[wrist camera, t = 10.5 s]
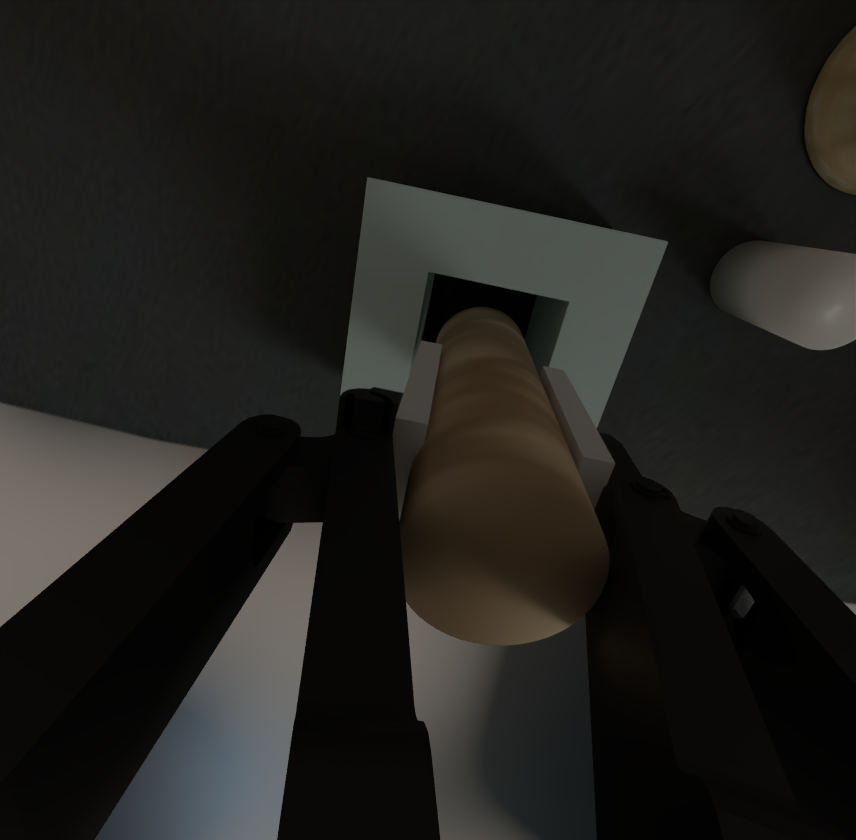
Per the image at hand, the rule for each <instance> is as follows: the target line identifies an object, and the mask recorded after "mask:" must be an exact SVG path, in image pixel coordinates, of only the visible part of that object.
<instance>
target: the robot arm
mask: <svg viewBox="0 0 856 840" xmlns="http://www.w3.org/2000/svg"><path fill="white" fill-rule="evenodd" d="M441 349H442V345H441V344H437V343H432V342H427V341H422V340H421V342H420V345H419V348H418V351H417V354H416V357H415V360H414V363H413V366H412V369H411V372H410V375H409V378H408V381H407V384H406V387H405V390H404V393H401V392H396V391H391V390H387V389H382V388H377V387H373V388H371V389H365V388H356V389H349V390H347V391H344V392H343V393H342V394H341V396H340V401H339V409H338V417H337V425H336V433H335V435H331V436H326V437H301V429H300V426H299V425H298V424H297V423H296V422H294V421H293V420H291V419H288V418H285V417H281V416H276V415H270V414H268V415H266V414H265V415H259V416H255V417H250V418H248V419H246V420H244V421H242V422H241V423H240V424H239V425H237V426H236V427H235V428H234V429H233V430H232V431H230V432H229V433H228V434H227V435H226V436H224V437H223V438H222V439H221V440H220V441H219V442H217V443H216V444H215V445H214V446H213V447H212V448H210V449H209V450H208V451H207V452H206V453H205V454H203V455H202V456H201V457H200V458H199V459H198V460H196V461H195V462H194V463H193V464H192V465H190V466H189V467H188V468H187V469H186V470H184V471H183V472H182V473H181V474H180V475H179V476H177V478H175V479H174V480H173V481H172V482H171V483H169V484H168V485H167V486H166V487H165V488H163V489H162V490H161V491H160V492H159V493H157V494H156V495H155V496H154V497H153V498H152V499H150V500H149V501H148V502H147V503H146V504H145V505H143V506H142V507H141V508H140V509H139V510H137V511H136V512H135V513H134V514H133V515H132V516H130V517H129V518H128V519H127V520H126V521H125V522H123V523H122V524H121V525H120V526H119V527H118V528H117V529H115V530H114V531H113V532H112V533H110V534H109V535H108V536H107V537H106V538H105V539H103V540H102V541H101V542H100V543H99V544H98V545H96V546H95V547H94V548H93V549H92V550H90V551H89V552H88V553H87V554H86V555H85V556H83V557H82V558H81V559H80V560H79V561H78V562H76V563H75V564H74V565H73V566H72V567H71V568H69V569H68V570H67V571H66V572H65V573H64V574H62V575H61V576H60V577H59V578H58V579H57V580H55V581H54V582H53V583H52V584H50V585H49V586H48V587H47V588H46V589H45V590H43V591H42V592H41V593H40V594H39V595H38V596H36V597H35V598H34V599H33V600H32V601H30V602H29V603H28V604H27V605H26V606H25V607H23V608H22V609H21V610H20V611H19V612H18V613H17V614H15V615H14V616H13V617H12V618H11V619H9V620H8V621H7V622H6V623H5V624H3V625H2V626H1V627H0V840H94V839H95V838H96V836H97V835H98V833H99V831H100V830H101V828H102V826H103V825H104V824H105V822H106V821H107V819H108V817H109V816H110V814H111V813H112V811H113V809H114V808H115V806H116V805H117V803H118V802H119V800H120V798H121V797H122V795H123V794H124V792H125V791H126V789H127V787H128V786H129V784H130V783H131V781H132V779H133V778H134V776H135V775H136V773H137V772H138V770H139V769H140V767H141V765H142V764H143V762H144V761H145V759H146V758H147V756H148V754H149V753H150V751H151V750H152V748H153V746H154V745H155V743H156V741H157V740H158V739H159V737H160V736H161V734H162V732H163V731H164V729H165V728H166V726H167V724H168V723H169V721H170V720H171V718H172V716H173V715H174V713H175V712H176V710H177V709H178V707H179V706H180V704H181V702H182V701H183V699H184V698H185V696H186V695H187V693H188V691H189V690H190V688H191V687H192V685H193V684H194V682H195V680H196V679H197V677H198V676H199V674H200V672H201V671H202V669H203V668H204V666H205V665H206V663H207V661H208V660H209V658H210V657H211V655H212V654H213V652H214V650H215V649H216V647H217V646H218V644H219V642H220V641H221V639H222V638H223V636H224V635H225V633H226V631H227V630H228V628H229V627H230V625H231V624H232V622H233V620H234V619H235V617H236V616H237V614H238V613H239V611H240V610H241V608H242V606H243V605H244V603H245V601H246V600H247V598H248V597H249V595H250V594H251V592H252V591H253V589H254V587H255V586H256V584H257V583H258V581H259V580H260V578H261V576H262V575H263V573H264V572H265V570H266V569H267V567H268V565H269V564H270V562H271V561H272V559H273V557H274V556H275V554H276V553H277V551H278V550H279V548H280V546H281V545H282V543H283V542H284V540H285V538H286V537H287V535H288V534H289V532H290V531H291V528H292V525H293V523H300V522H301V523H304V522H323V525H322V532H321V539H320V547H319V554H318V561H317V568H316V575H315V583H314V589H313V596H312V604H311V610H310V618H309V625H308V632H307V639H306V646H305V653H304V661H303V668H302V675H301V682H300V688H299V696H298V703H297V710H296V716H295V721H294V726H293V733H292V740H291V747H290V753H289V760H288V768H287V775H286V781H285V789H284V795H283V803H282V810H281V817H280V824H279V831H278V838H277V840H440V833H439V824H438V814H437V804H436V796H435V795H436V794H435V785H434V776H433V766H432V756H431V748H430V742H429V735H428V731H427V728H426V726H425V723H424V722H423V721H418V720H417V717H416V714H415V707H414V697H413V684H412V672H411V659H410V647H409V635H408V623H407V610H406V597H405V585H404V572H403V560H402V548H401V535H400V523H399V519H400V516H401V511H402V506H403V502H404V497H405V492H406V487H407V482H408V477H409V472H410V469H411V466H412V462H413V460H414V458H415V456H416V454H417V453H418V451H419V450H420V448H421V447H422V445H423V444H424V442H425V437H426V432H427V428H428V423H429V417H430V411H431V406H432V400H433V394H434V389H435V383H436V377H437V372H438V366H439V360H440V355H441ZM540 379H541V382H542V384H543V387H544V389H545V392H546V394H547V397H548V399H549V401H550V404H551V406H552V409H553V411H554V414H555V416H556V419H557V421H558V423H559V426H560V428H561V431H562V433H563V436H564V438H565V441H566V443H567V445H568V448H569V450H570V453H571V455H572V458H573V460H574V462H575V465H576V467H577V470H578V472H579V475H580V477H581V480H582V482H583V484H584V487H585V489H586V492H587V494H588V497H589V499H590V502H591V504H592V506H593V509H594V511H595V514H596V516H597V519H598V521H599V524H600V526H601V528H602V531H603V533H604V536H605V539H606V542H607V545H608V551H609V572H608V577H607V581H606V584H605V586H604V589H603V591H602V593H601V595H600V596H599V598H598V600H597V601H596V603H595V604H594V605H593V606H592V608H591V609H590V610H589V611H588V612H587V613H586V614H585V619H586V638H587V657H588V677H589V695H590V696H589V697H590V715H591V735H592V753H593V775H594V794H595V813H596V832H597V840H856V615H855V614H854V613H853V612H852V611H851V610H850V609H849V608H848V607H847V606H846V605H845V604H844V603H843V602H842V601H841V600H840V599H839V598H838V597H837V596H836V595H835V594H834V593H833V592H832V591H831V589H830V588H829V587H828V586H827V585H826V584H825V583H824V582H823V581H822V580H821V579H820V578H819V577H818V576H817V575H816V574H815V573H814V572H813V571H812V570H811V569H810V568H809V567H808V566H807V565H806V564H805V563H804V562H803V561H802V560H801V559H800V558H799V557H798V556H797V555H796V554H795V553H794V552H793V551H792V550H791V549H790V548H789V547H788V546H787V545H786V544H785V543H784V542H783V541H782V540H781V539H780V538H779V537H778V536H777V535H776V534H775V533H774V532H773V531H772V530H771V529H770V528H769V527H768V526H767V525H765V524H764V523H763V522H761V521H760V520H758V519H756V518H755V517H754V516H753V515H751V514H749V513H745V511H742V510H739V509H737V510H736V509H732V508H728V507H718V508H715V509H713V511H712V513H711V515H710V517H709V518H708V520H707V521H706V520H703V519H700V518H698V517H695V516H692V515H690V514H687V513H684V512H682V511H681V510H680V508H679V505H678V503H677V500H676V498H675V497H674V495H673V494H672V492H670V491H669V490H668V489H667V488H665V487H664V486H662V485H661V484H659V483H657V482H655V481H653V480H650V479H648V478H645V477H642V476H641V474H640V472H639V471H638V469H637V468H636V466H635V464H634V463H633V462H632V460H631V458H630V456H629V455H627V454H628V453H627V451H626V450H625V448H624V447H623V445H622V444H621V443H620V442H619V441H617V440H616V439H615V438H614V437H612V436H611V435H608V434H604V433H599V432H598V431H597V429H596V427H595V425H594V424H593V422H592V420H591V418H590V416H589V415H588V413H587V411H586V409H585V407H584V406H583V404H582V402H581V400H580V398H579V396H578V395H577V393H576V391H575V389H574V387H573V386H572V384H571V382H570V380H569V378H568V377H567V375H566V373H565V371H564V370H560V369H556V368H551V367H546V366H543V367H542V370H541V374H540ZM746 590H747V591H748V592H749V593H750V594H751V596H752V597H753V599H754V601H755V602H754V604H753V605H752V607H751V609H750V610H749V612H748V613H747V615H746V616H745V617H744V618H742V617H741V616H740V615H739V614H738V613H737V611H736V610H735V607H736V606H737V604H738V602H739V601H740V600H741V598H742V596H743V595H744V593H745V592H746Z"/></svg>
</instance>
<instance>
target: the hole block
mask: <svg viewBox="0 0 856 840" xmlns="http://www.w3.org/2000/svg"><path fill="white" fill-rule="evenodd" d="M667 244H668V241H663V240H659V239H654V238H650V237H645V236H641V235H636V234H632V233H627V232H622V231H618V230H613V229H609V228H604V227H599V226H595V225H590V224H585V223H581V222H576V221H571V220H567V219H562V218H557V217H553V216H548V215H543V214H539V213H534V212H529V211H525V210H520V209H515V208H511V207H506V206H501V205H497V204H492V203H487V202H483V201H478V200H473V199H469V198H464V197H459V196H454V195H450V194H445V193H440V192H436V191H431V190H426V189H422V188H417V187H412V186H408V185H403V184H398V183H394V182H389V181H384V180H379V179H374V178H369V177H367V185H366V193H365V201H364V209H363V217H362V225H361V233H360V241H359V249H358V257H357V265H356V273H355V281H354V289H353V297H352V305H351V313H350V321H349V329H348V337H347V345H346V353H345V361H344V369H343V377H342V385H341V393H340V396H341V394H342V393H343V392H344V391H347V390H349V389H356V388H365V389H371V388H373V387H377V388H382V389H387V390H391V391H396V392H401V393H404V390H405V387H406V384H407V381H408V378H409V375H410V372H411V369H412V366H413V363H414V360H415V357H416V354H417V351H418V348H419V345H420V342H421V340H422V339H423V334H424V329H425V324H426V318H427V313H428V308H429V303H430V298H431V293H432V287H433V282H434V277H435V273H437V274H441V275H446V276H451V277H455V278H460V279H465V280H470V281H474V282H479V283H484V284H488V285H493V286H498V287H503V288H507V289H512V290H517V291H521V292H526V293H531V294H536V295H537V297H536V301H535V304H534V308H533V311H532V315H531V318H530V322H529V325H528V329H527V332H526V336H525V339H524V340H525V343H526V345H527V348H528V350H529V353H530V355H531V357H532V360H533V362H534V365H535V367H536V370H537V372H538V375H539V377H540V374H541V370H542V367H543V366H546V367H551V368H556V369H560V370H564V371H565V373H566V375H567V377H568V378H569V380H570V382H571V384H572V386H573V387H574V389H575V391H576V393H577V395H578V396H579V398H580V400H581V402H582V404H583V406H584V407H585V409H586V411H587V413H588V415H589V416H590V418H591V420H592V422H593V424H594V425H595V427H596V429H597V427H598V424H599V421H600V419H601V416H602V414H603V411H604V408H605V406H606V403H607V400H608V398H609V395H610V393H611V390H612V387H613V385H614V382H615V380H616V377H617V374H618V372H619V369H620V367H621V364H622V361H623V359H624V356H625V354H626V351H627V348H628V346H629V343H630V341H631V338H632V335H633V333H634V330H635V327H636V325H637V322H638V320H639V317H640V314H641V312H642V309H643V307H644V304H645V301H646V299H647V296H648V294H649V291H650V288H651V286H652V283H653V281H654V278H655V275H656V273H657V270H658V268H659V265H660V262H661V260H662V257H663V254H664V252H665V249H666V247H667Z"/></svg>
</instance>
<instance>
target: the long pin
mask: <svg viewBox="0 0 856 840" xmlns="http://www.w3.org/2000/svg"><path fill="white" fill-rule="evenodd" d="M436 343H437V344H441V345H442V349H441V355H440V360H439V366H438V372H437V377H436V383H435V389H434V394H433V400H432V406H431V411H430V417H429V423H428V428H427V432H426V437H425V442H424V444H423V445H422V447H421V448H420V450H419V451H418V453H417V454H416V456H415V458H414V460H413V462H412V466H411V469H410V472H409V477H408V482H407V487H406V492H405V497H404V502H403V506H402V511H401V516H400V521H399V523H400V535H401V548H402V560H403V572H404V585H405V597H406V602H407V603H408V605H409V606H410V607H411V608H412V609H413V610H414V611H415V613H416V614H417V615H418V616H419V617H421V618H422V619H423V620H424V621H426V622H427V623H428V624H430V625H431V626H433V627H435V628H436V629H438V630H440V631H442V632H444V633H446V634H448V635H450V636H453V637H456V638H458V639H461V640H465V641H469V642H473V643H479V644H485V645H516V644H524V643H529V642H533V641H537V640H541V639H543V638H547V637H549V636H552V635H554V634H556V633H559V632H561V631H562V630H564V629H566V628H567V627H569V626H571V625H573V624H574V623H575V622H577V621H578V620H579V619H581V618H582V617H583V616H584V615H585V614H586V613H587V612H588V611H589V610H590V609H591V608H592V606H593V605H594V604H595V603H596V601H597V600H598V598H599V596H600V595H601V593H602V591H603V589H604V586H605V584H606V581H607V577H608V572H609V551H608V545H607V542H606V539H605V536H604V533H603V531H602V528H601V526H600V524H599V521H598V519H597V516H596V514H595V511H594V509H593V506H592V504H591V502H590V499H589V497H588V494H587V492H586V489H585V487H584V484H583V482H582V480H581V477H580V475H579V472H578V470H577V467H576V465H575V462H574V460H573V458H572V455H571V453H570V450H569V448H568V445H567V443H566V441H565V438H564V436H563V433H562V431H561V428H560V426H559V423H558V421H557V419H556V416H555V414H554V411H553V409H552V406H551V404H550V401H549V399H548V397H547V394H546V392H545V389H544V387H543V384H542V382H541V379H540V377H539V375H538V372H537V370H536V367H535V365H534V362H533V360H532V357H531V355H530V353H529V350H528V348H527V345H526V343H525V340H524V338H523V336H522V333H521V331H520V329H519V327H518V326H517V324H516V323H515V322H514V321H513V320H512V319H511V318H510V317H509V316H508V315H506V314H505V313H503V312H501V311H499V310H497V309H493V308H489V307H473V308H468V309H465V310H463V311H460V312H459V313H457V314H455V315H454V316H452V317H451V318H450V319H449V320H448V321H447V322H446V323H445V324H444V325H443V327H442V329H441V330H440V332H439V334H438V337H437V340H436Z"/></svg>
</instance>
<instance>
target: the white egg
mask: <svg viewBox="0 0 856 840" xmlns="http://www.w3.org/2000/svg"><path fill="white" fill-rule="evenodd" d="M710 294H711V297H712V300H713V301H714V303H715V304H716V306H717V307H718V308H719V309H721V310H722V311H724V312H726V313H728V314H731V315H733V316H735V317H737V318H740V319H742V320H744V321H746V322H749V323H751V324H753V325H755V326H758V327H760V328H762V329H764V330H766V331H769V332H771V333H773V334H775V335H778V336H780V337H782V338H784V339H787V340H789V341H791V342H793V343H796V344H798V345H800V346H802V347H805V348H808V349H813V350H829V349H834V348H838V347H841V346H844V345H846V344H848V343H850V342H852V341H854V340H856V254H852V253H845V252H838V251H831V250H824V249H817V248H810V247H804V246H797V245H790V244H783V243H776V242H769V241H762V240H754V241H749V242H745V243H742V244H740V245H738V246H736V247H734V248H733V249H731V250H730V251H728V252H727V253H726V254H725V255H724V256H723V257H722V258H721V259H720V261H719V262H718V263H717V265H716V266H715V268H714V270H713V273H712V275H711V279H710Z"/></svg>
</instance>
